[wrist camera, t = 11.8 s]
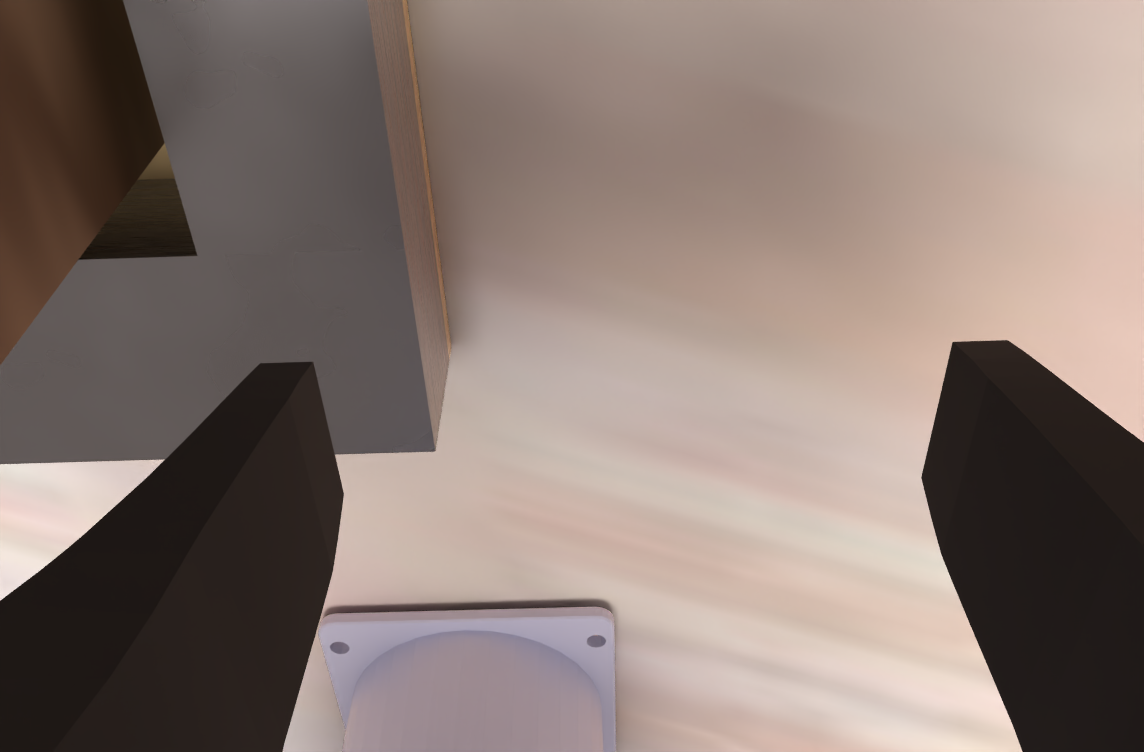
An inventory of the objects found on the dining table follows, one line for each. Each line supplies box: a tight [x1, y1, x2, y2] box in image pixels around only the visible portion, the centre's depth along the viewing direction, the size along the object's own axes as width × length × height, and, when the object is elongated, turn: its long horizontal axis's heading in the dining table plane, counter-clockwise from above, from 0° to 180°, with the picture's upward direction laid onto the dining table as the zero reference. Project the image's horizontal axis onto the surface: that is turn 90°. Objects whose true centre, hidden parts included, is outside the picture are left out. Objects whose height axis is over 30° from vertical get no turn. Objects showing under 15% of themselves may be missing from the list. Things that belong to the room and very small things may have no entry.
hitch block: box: [0, 0, 451, 464], centre depth 17 cm, size 15×13×4 cm
